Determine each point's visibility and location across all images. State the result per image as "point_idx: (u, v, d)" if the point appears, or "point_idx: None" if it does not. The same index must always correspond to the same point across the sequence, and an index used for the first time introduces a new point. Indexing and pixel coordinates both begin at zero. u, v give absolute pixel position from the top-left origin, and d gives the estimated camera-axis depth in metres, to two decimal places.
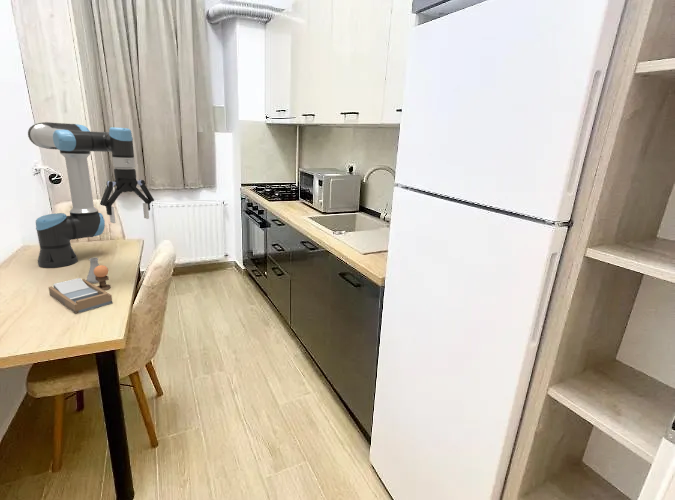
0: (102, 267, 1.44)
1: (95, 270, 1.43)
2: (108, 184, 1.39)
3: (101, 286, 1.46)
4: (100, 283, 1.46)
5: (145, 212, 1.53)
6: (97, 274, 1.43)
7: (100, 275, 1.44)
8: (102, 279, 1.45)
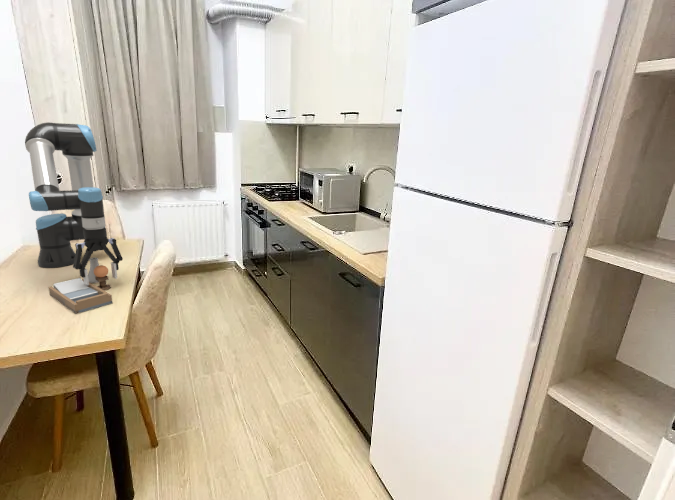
0: (102, 267, 1.44)
1: (95, 270, 1.43)
2: (77, 247, 1.36)
3: (101, 286, 1.46)
4: (100, 283, 1.46)
5: (113, 272, 1.49)
6: (97, 274, 1.43)
7: (100, 275, 1.44)
8: (102, 279, 1.45)
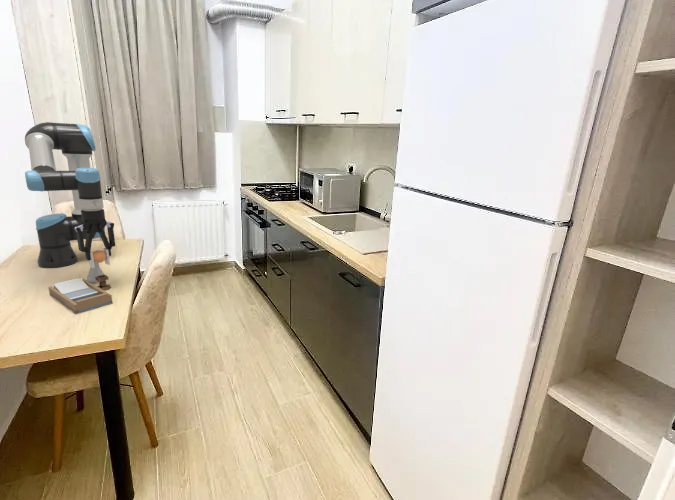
0: (99, 252, 1.43)
1: None
2: (76, 231, 1.35)
3: (101, 286, 1.46)
4: (100, 283, 1.46)
5: (106, 258, 1.46)
6: (96, 260, 1.42)
7: (99, 260, 1.43)
8: (102, 279, 1.45)
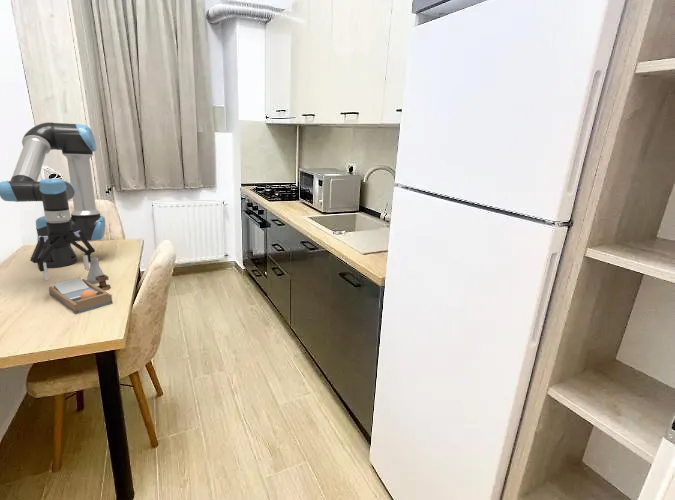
0: None
1: None
2: (39, 239, 1.30)
3: (101, 286, 1.46)
4: (100, 283, 1.46)
5: (85, 264, 1.44)
6: None
7: None
8: (102, 279, 1.45)
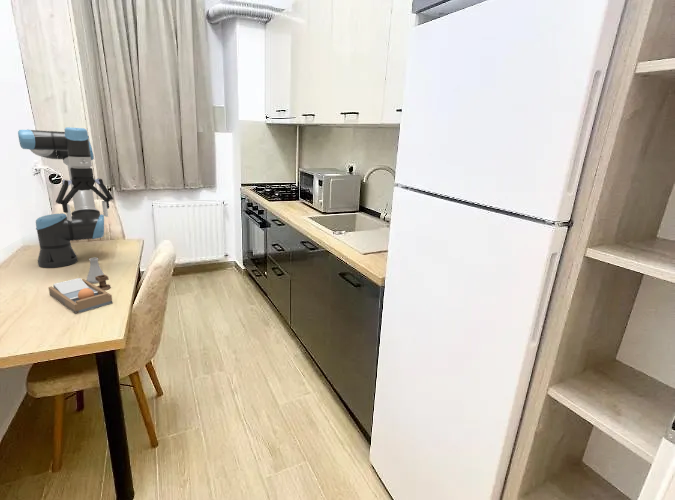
0: (86, 291, 1.31)
1: (79, 295, 1.30)
2: (63, 183, 1.42)
3: (101, 286, 1.46)
4: (100, 283, 1.46)
5: (104, 210, 1.57)
6: None
7: None
8: (102, 279, 1.45)
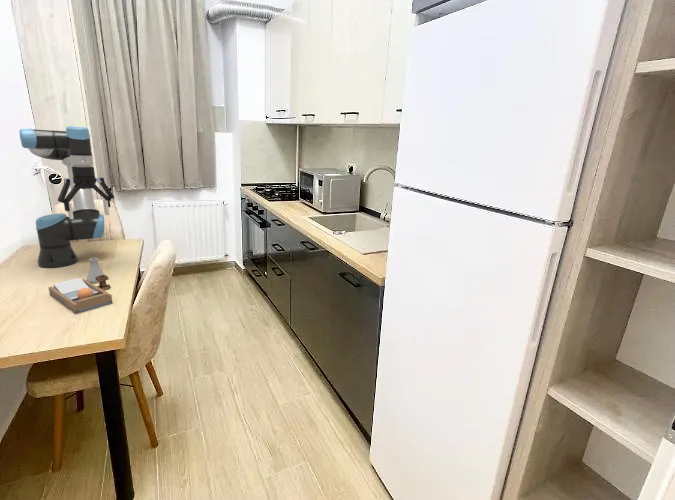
0: (85, 290, 1.32)
1: (78, 295, 1.31)
2: (65, 181, 1.43)
3: (101, 286, 1.46)
4: (100, 283, 1.46)
5: (105, 209, 1.57)
6: (82, 298, 1.31)
7: None
8: (102, 279, 1.45)
